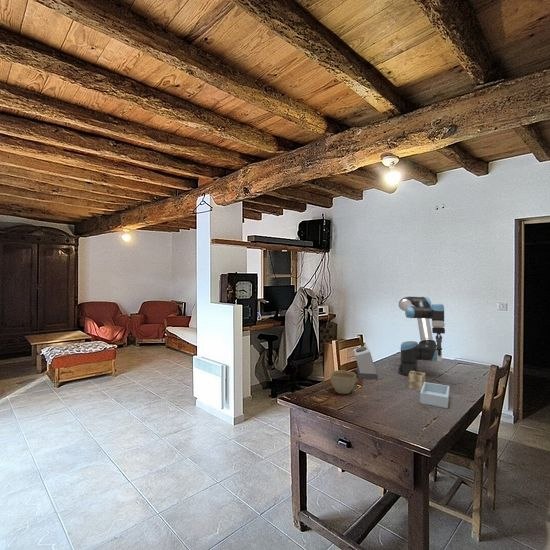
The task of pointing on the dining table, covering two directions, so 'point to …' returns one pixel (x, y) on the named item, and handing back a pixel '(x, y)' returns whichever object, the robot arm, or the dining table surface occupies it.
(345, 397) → the dining table surface
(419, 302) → the robot arm
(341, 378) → the planter bowl
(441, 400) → the light blue crate
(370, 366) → the alarm clock
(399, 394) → the dining table surface
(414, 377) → the birch crate
